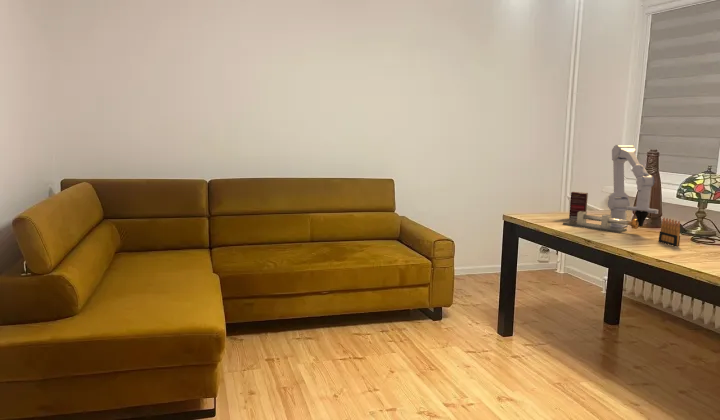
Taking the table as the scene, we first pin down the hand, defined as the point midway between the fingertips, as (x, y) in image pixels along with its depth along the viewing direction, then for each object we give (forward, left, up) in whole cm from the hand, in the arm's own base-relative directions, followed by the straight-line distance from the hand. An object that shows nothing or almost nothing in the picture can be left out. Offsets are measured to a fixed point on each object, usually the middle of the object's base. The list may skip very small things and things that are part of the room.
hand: (640, 225), depth 279 cm
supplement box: (-16, -39, -5) cm, 42 cm away
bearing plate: (0, -23, -4) cm, 23 cm away
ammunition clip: (+13, +17, -5) cm, 22 cm away
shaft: (0, -15, -2) cm, 16 cm away
